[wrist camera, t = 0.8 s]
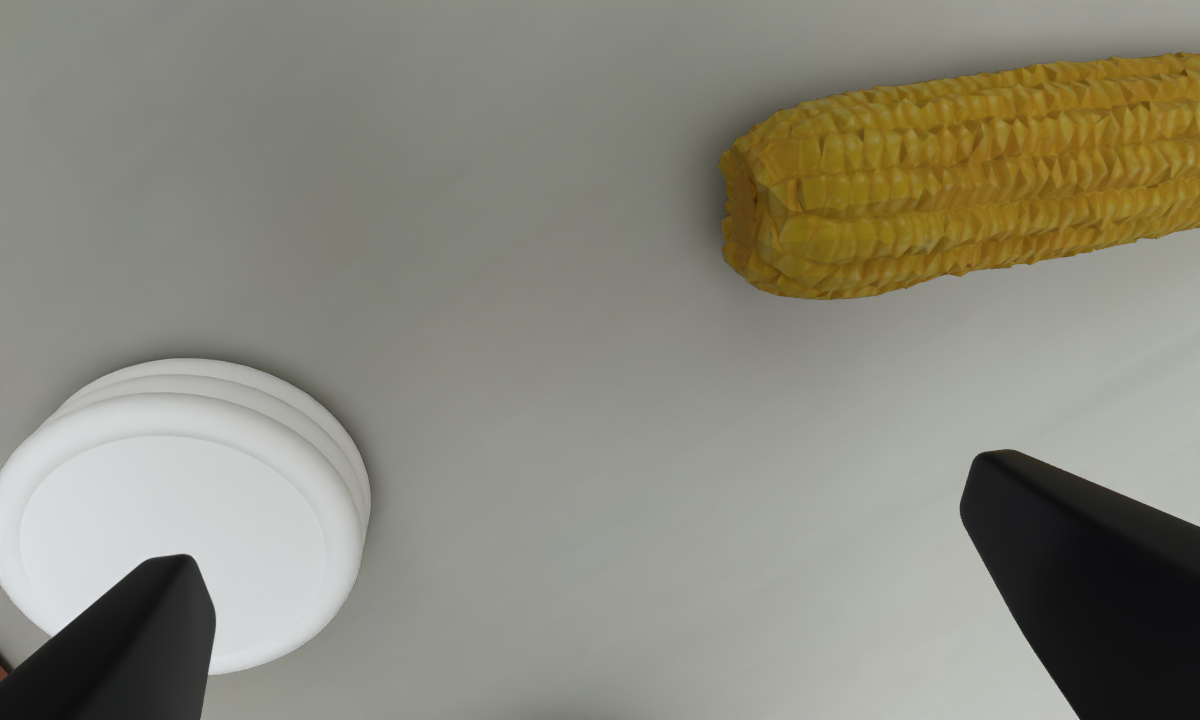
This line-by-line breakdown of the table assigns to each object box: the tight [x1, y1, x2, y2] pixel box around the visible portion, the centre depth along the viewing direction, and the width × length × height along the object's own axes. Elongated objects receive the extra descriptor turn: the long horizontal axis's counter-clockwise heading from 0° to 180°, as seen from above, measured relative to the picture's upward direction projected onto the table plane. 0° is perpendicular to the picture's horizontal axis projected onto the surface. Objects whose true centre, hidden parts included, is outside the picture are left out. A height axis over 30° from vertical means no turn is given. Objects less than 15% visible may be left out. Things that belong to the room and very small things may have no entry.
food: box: [717, 52, 1200, 300], centre depth 21 cm, size 21×6×6 cm, turn 97°
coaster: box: [0, 358, 371, 675], centre depth 22 cm, size 10×10×4 cm
